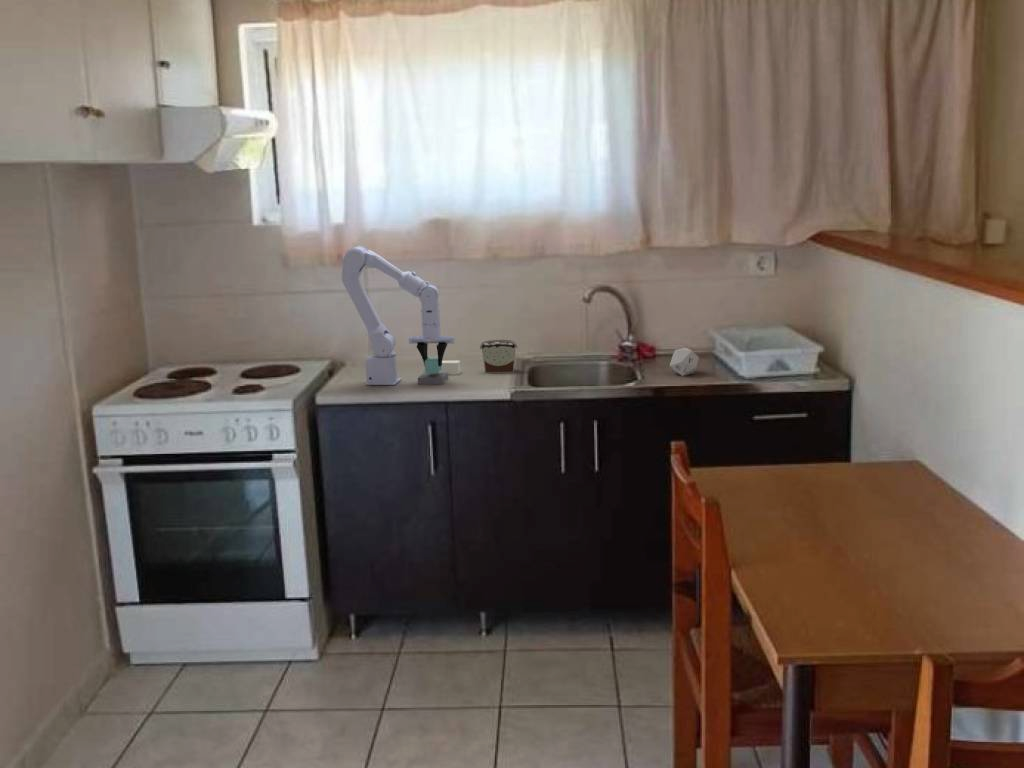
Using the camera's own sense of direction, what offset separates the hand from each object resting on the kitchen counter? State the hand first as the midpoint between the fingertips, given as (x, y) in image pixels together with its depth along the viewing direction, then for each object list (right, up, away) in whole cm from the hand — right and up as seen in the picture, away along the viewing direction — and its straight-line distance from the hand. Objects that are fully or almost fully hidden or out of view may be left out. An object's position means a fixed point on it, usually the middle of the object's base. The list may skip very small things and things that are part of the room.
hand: (433, 365), depth 324 cm
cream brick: (+5, -2, +12) cm, 13 cm away
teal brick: (0, -2, +1) cm, 2 cm away
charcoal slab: (0, -5, +1) cm, 6 cm away
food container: (+21, -2, +14) cm, 25 cm away
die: (+80, -3, 0) cm, 80 cm away
